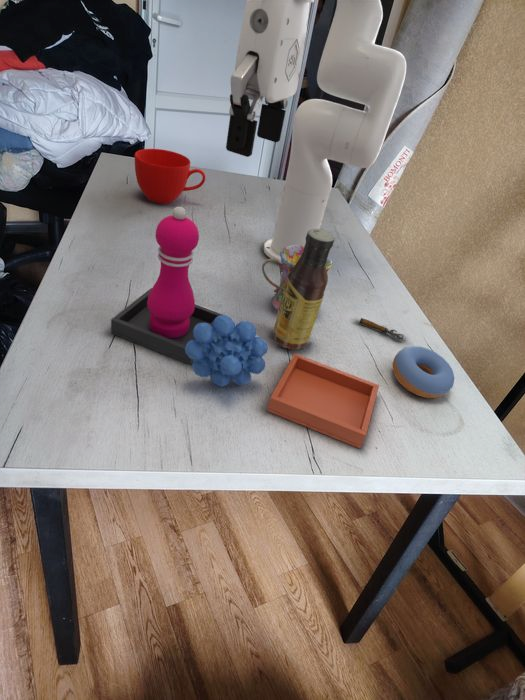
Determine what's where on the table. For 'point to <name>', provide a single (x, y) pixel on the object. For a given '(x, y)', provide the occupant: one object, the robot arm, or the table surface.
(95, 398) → the table surface
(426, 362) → the doughnut
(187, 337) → the charcoal tray
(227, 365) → the blue knobbed flower
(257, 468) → the table surface
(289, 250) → the mug
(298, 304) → the sauce bottle
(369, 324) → the can opener
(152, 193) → the ceramic cup
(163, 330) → the pepper mill
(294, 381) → the terracotta tray
